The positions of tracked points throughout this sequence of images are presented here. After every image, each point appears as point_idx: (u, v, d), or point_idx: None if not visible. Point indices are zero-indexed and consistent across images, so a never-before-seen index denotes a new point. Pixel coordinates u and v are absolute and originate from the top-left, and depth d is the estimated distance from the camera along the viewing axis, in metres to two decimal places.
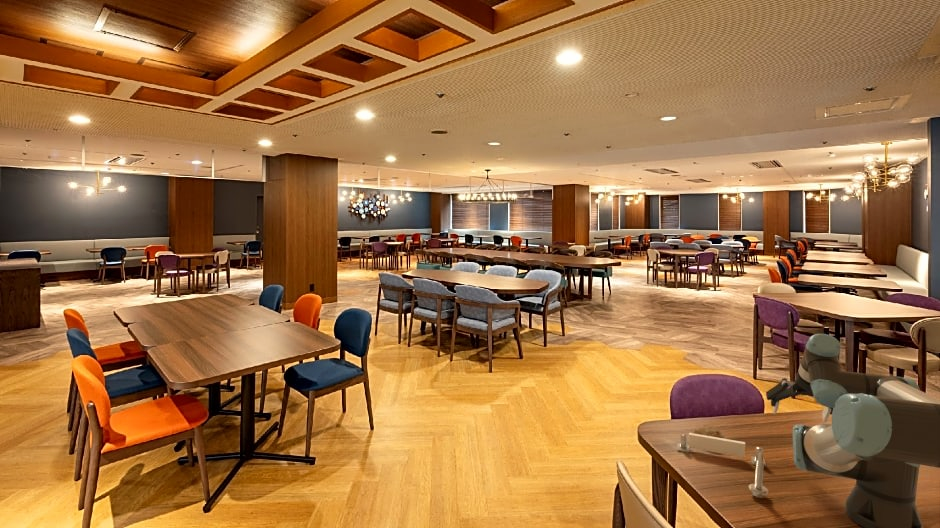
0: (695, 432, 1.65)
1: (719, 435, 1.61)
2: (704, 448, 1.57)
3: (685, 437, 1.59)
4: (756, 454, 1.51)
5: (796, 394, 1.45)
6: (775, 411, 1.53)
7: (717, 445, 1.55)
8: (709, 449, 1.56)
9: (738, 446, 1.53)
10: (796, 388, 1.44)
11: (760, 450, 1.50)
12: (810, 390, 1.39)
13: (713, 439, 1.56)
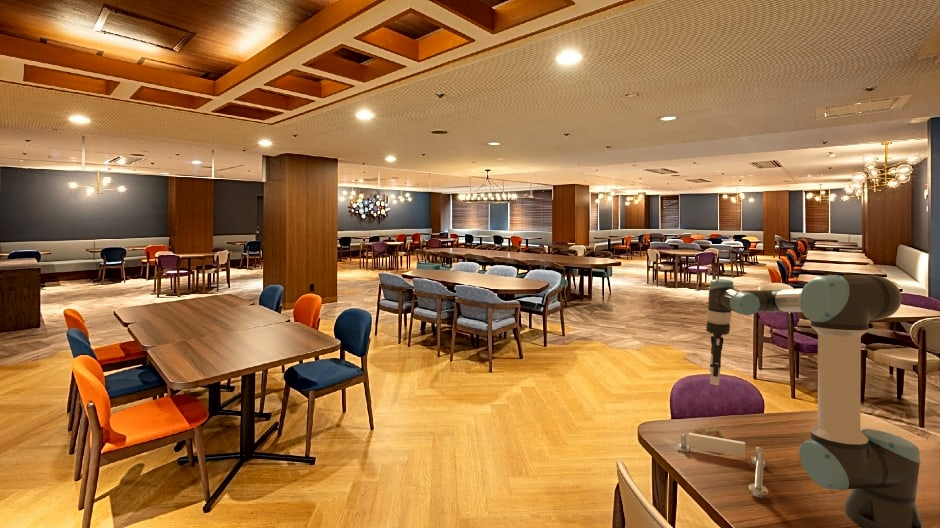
0: (695, 432, 1.65)
1: (719, 435, 1.61)
2: (704, 448, 1.57)
3: (685, 437, 1.59)
4: (756, 454, 1.51)
5: None
6: None
7: (717, 445, 1.55)
8: (709, 449, 1.56)
9: (738, 446, 1.53)
10: None
11: (760, 450, 1.50)
12: (729, 331, 1.67)
13: (713, 439, 1.56)
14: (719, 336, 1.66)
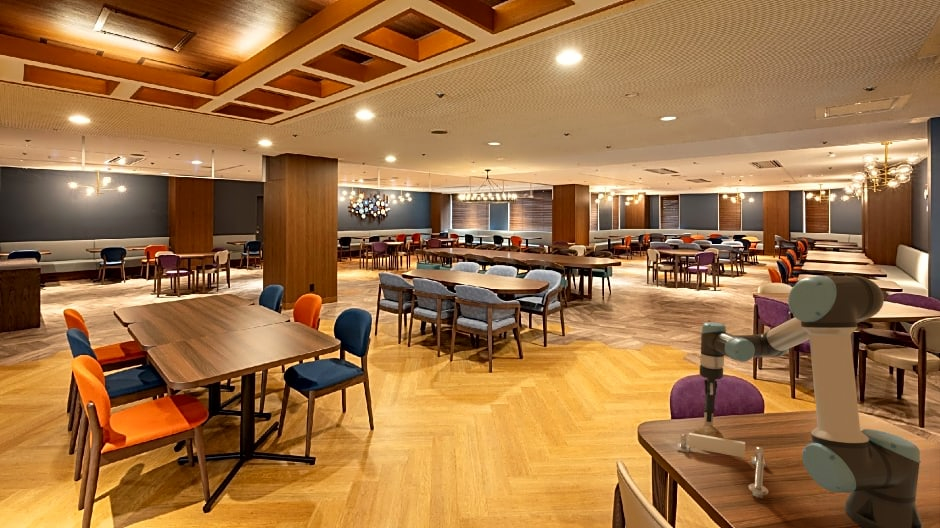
0: (694, 432, 1.65)
1: (718, 435, 1.60)
2: (704, 448, 1.57)
3: (685, 437, 1.59)
4: (756, 454, 1.51)
5: (715, 392, 1.66)
6: (712, 425, 1.68)
7: (717, 445, 1.55)
8: (709, 449, 1.56)
9: (738, 446, 1.53)
10: (714, 386, 1.64)
11: (760, 450, 1.50)
12: (722, 375, 1.65)
13: (713, 439, 1.56)
14: (713, 381, 1.64)
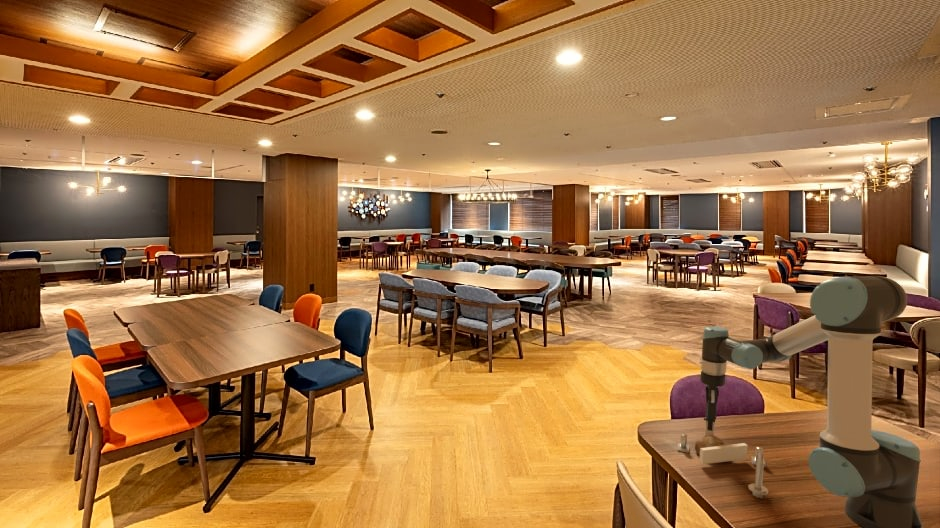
0: (698, 444, 1.56)
1: None
2: (715, 460, 1.49)
3: (685, 437, 1.59)
4: (756, 454, 1.51)
5: None
6: (713, 434, 1.61)
7: (726, 453, 1.50)
8: (719, 460, 1.49)
9: (742, 449, 1.51)
10: (716, 393, 1.56)
11: (760, 450, 1.50)
12: None
13: (723, 448, 1.49)
14: (714, 388, 1.56)
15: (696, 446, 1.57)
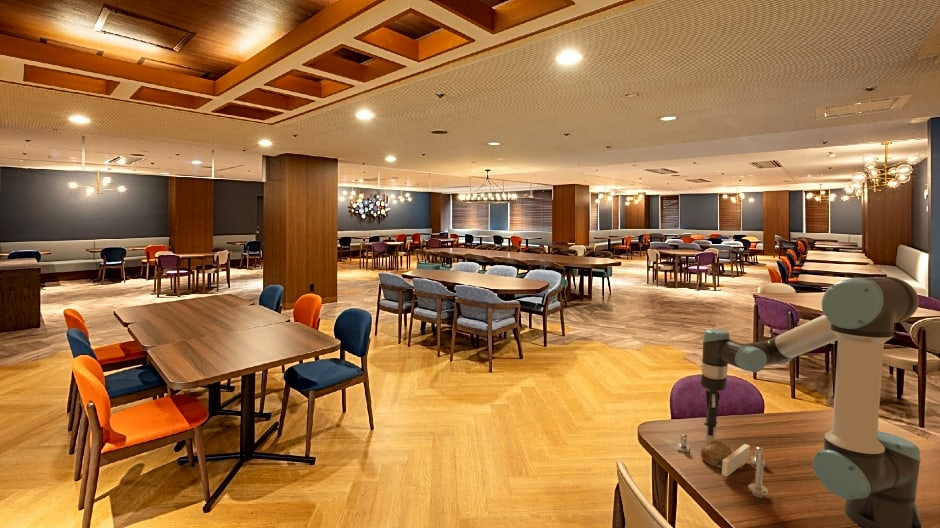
0: (707, 452, 1.50)
1: (732, 451, 1.49)
2: (733, 469, 1.44)
3: (685, 437, 1.59)
4: (756, 454, 1.51)
5: None
6: None
7: (739, 459, 1.46)
8: (735, 467, 1.45)
9: (747, 450, 1.50)
10: (717, 397, 1.53)
11: (760, 450, 1.50)
12: (725, 386, 1.54)
13: (737, 455, 1.45)
14: (715, 392, 1.52)
15: (705, 455, 1.51)
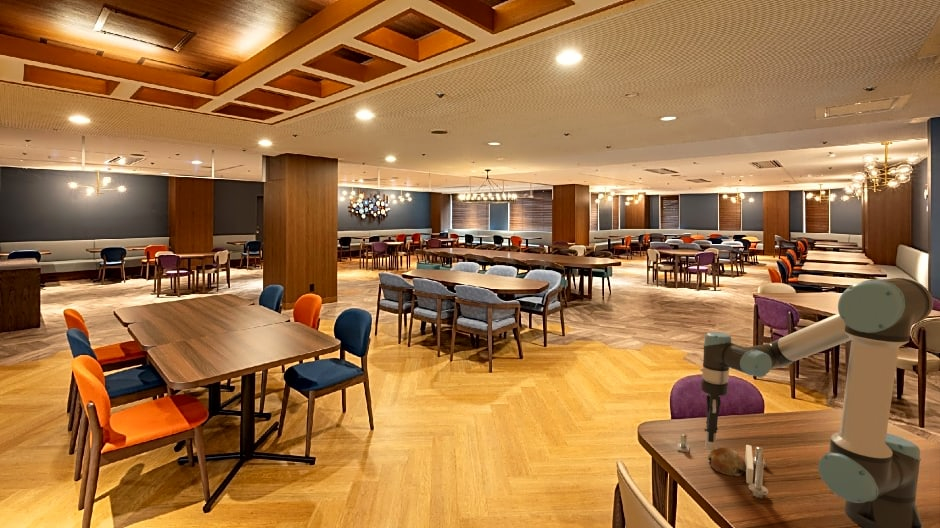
0: (724, 463, 1.44)
1: None
2: None
3: (685, 437, 1.59)
4: (756, 454, 1.51)
5: None
6: (714, 446, 1.53)
7: None
8: None
9: None
10: (717, 403, 1.48)
11: (760, 450, 1.50)
12: None
13: None
14: (716, 397, 1.48)
15: (721, 466, 1.44)
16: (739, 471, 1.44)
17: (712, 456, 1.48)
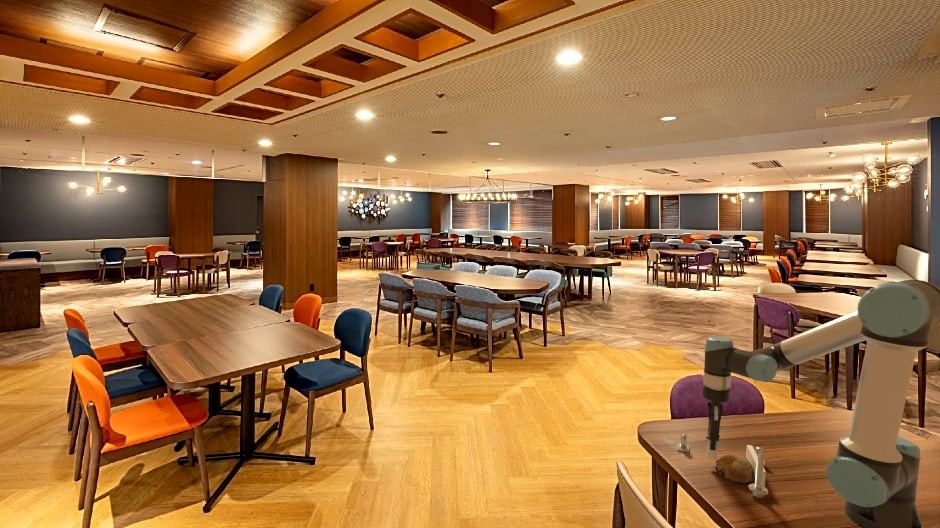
0: (743, 471, 1.39)
1: None
2: None
3: (685, 437, 1.59)
4: None
5: None
6: (716, 454, 1.47)
7: None
8: None
9: None
10: (719, 409, 1.43)
11: (760, 450, 1.50)
12: None
13: None
14: (718, 404, 1.43)
15: (741, 475, 1.39)
16: (751, 475, 1.41)
17: (725, 467, 1.42)
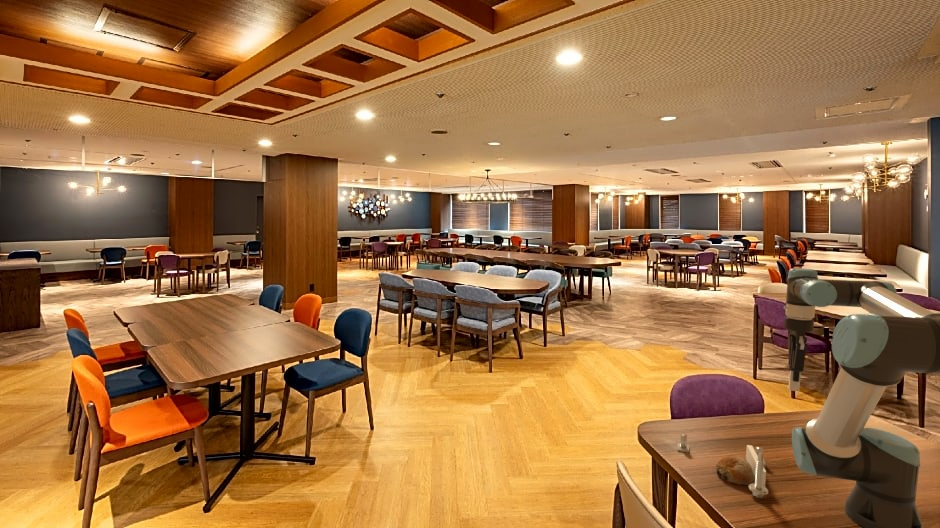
0: (746, 474, 1.38)
1: None
2: None
3: (685, 437, 1.59)
4: None
5: None
6: None
7: None
8: None
9: None
10: (804, 339, 1.44)
11: (760, 450, 1.50)
12: None
13: None
14: (803, 334, 1.44)
15: (745, 478, 1.38)
16: None
17: (728, 470, 1.40)
